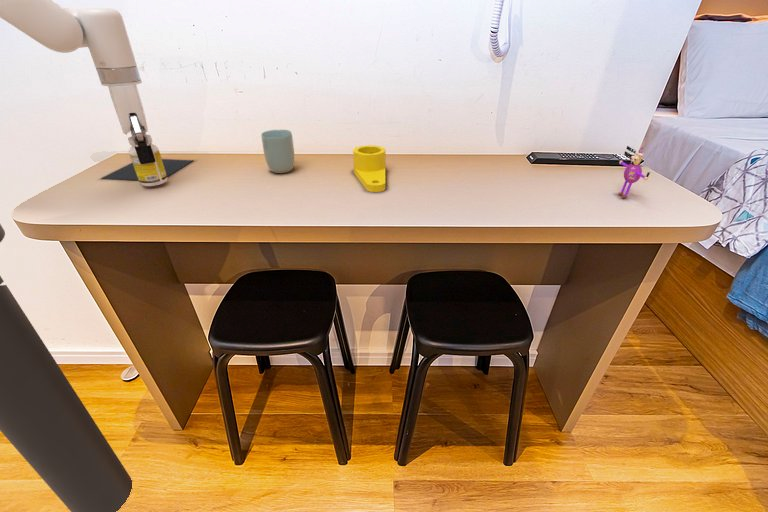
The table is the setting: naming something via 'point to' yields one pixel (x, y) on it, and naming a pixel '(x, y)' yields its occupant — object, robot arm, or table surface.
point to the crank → (370, 167)
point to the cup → (278, 150)
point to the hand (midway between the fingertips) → (146, 158)
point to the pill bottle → (148, 166)
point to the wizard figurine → (632, 170)
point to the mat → (130, 174)
